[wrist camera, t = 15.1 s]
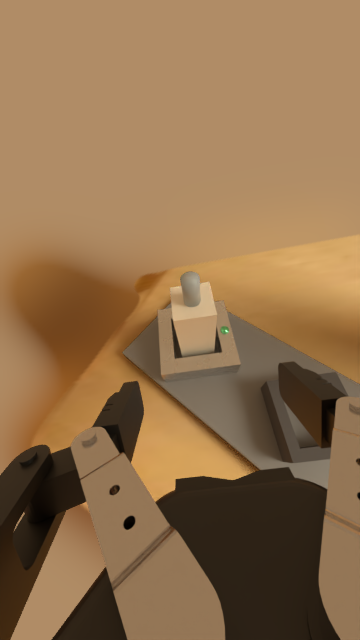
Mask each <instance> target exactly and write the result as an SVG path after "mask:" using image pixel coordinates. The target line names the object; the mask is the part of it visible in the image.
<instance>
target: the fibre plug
mask: <svg viewBox="0 0 360 640" xmlns="http://www.w3.org/2000/svg"><path fill="white" fill-rule="evenodd" d="M180 280H181V286H177V287H171V288H170V295H171V305H172V315H173V323H174V327H175V330H176V334H177V338H178V342H179V346H180V350H181V354H182V357H183V358H184V357H192V356H199V355H206V354H214V349H215V336H216V323H217V312H216V308H215V304H214V299H213V295H212V291H211V287H210V282H204V283H200V277H199V275H198V274H197V273H195V272H186V273H184V274H183V275H182V276H181V279H180Z"/></svg>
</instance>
